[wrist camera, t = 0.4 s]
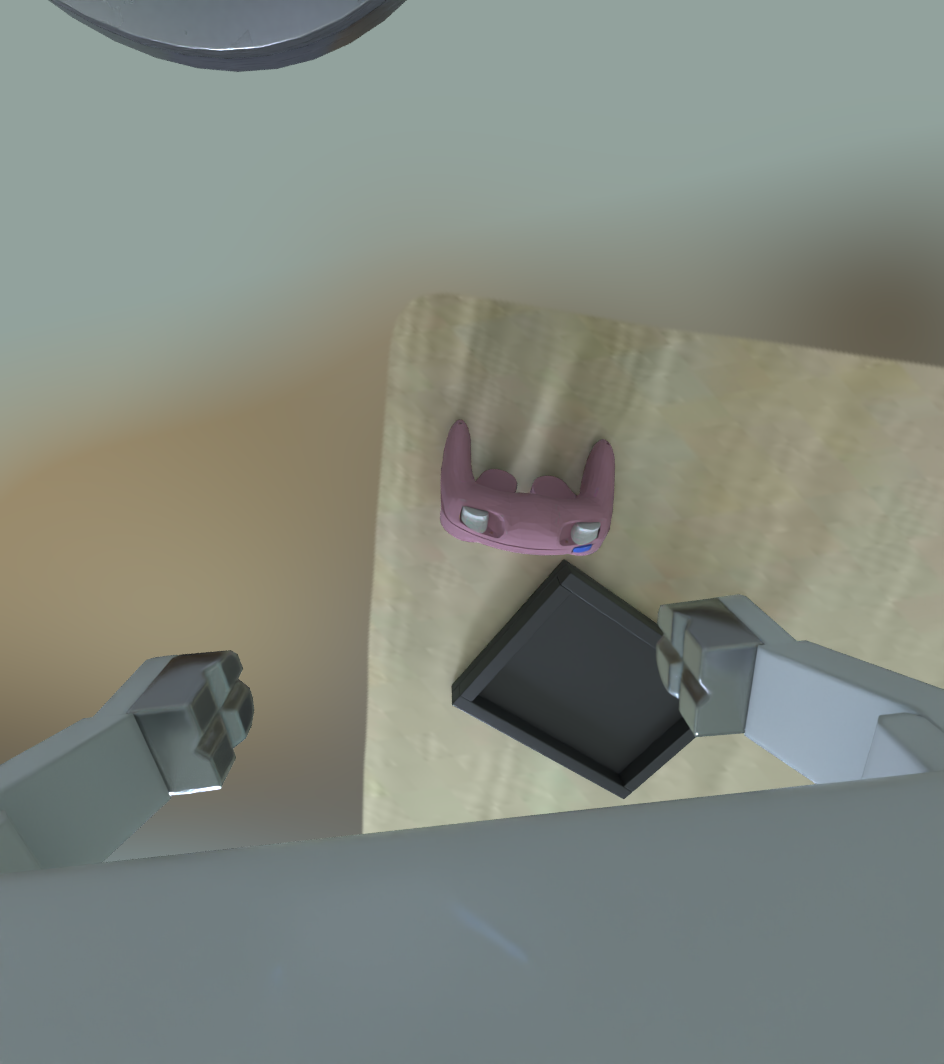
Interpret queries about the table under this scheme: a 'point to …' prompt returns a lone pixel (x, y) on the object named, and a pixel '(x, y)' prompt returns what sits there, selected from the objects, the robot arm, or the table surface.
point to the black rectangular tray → (579, 684)
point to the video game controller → (526, 504)
